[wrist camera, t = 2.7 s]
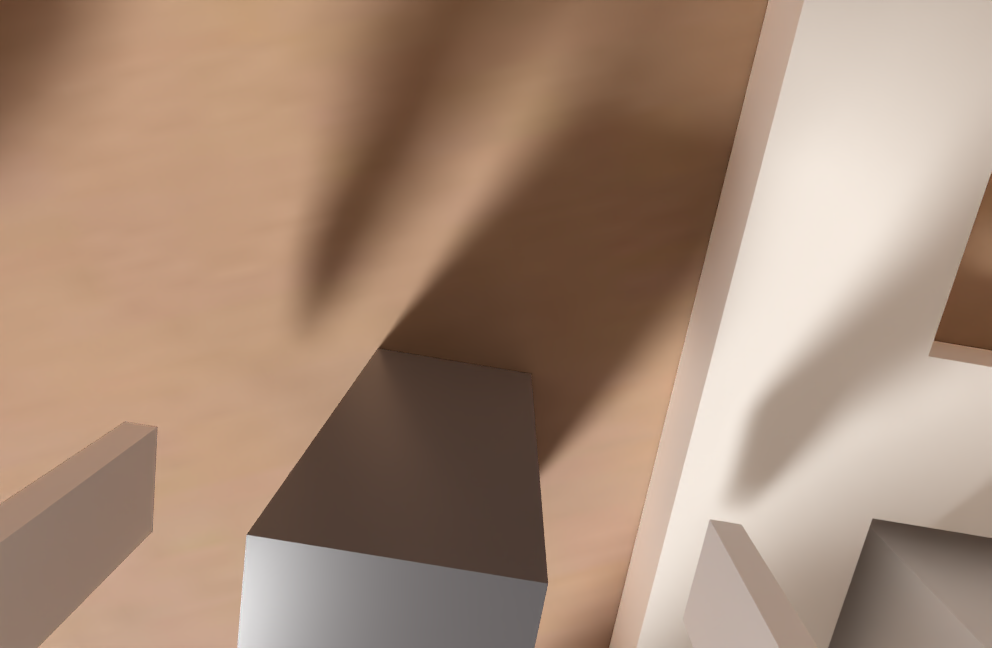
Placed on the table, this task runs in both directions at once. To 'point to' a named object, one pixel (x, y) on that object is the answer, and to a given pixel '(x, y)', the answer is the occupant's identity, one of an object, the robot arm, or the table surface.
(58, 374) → the table surface
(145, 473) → the robot arm
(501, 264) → the table surface
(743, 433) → the white peg board
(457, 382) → the dark grey block
